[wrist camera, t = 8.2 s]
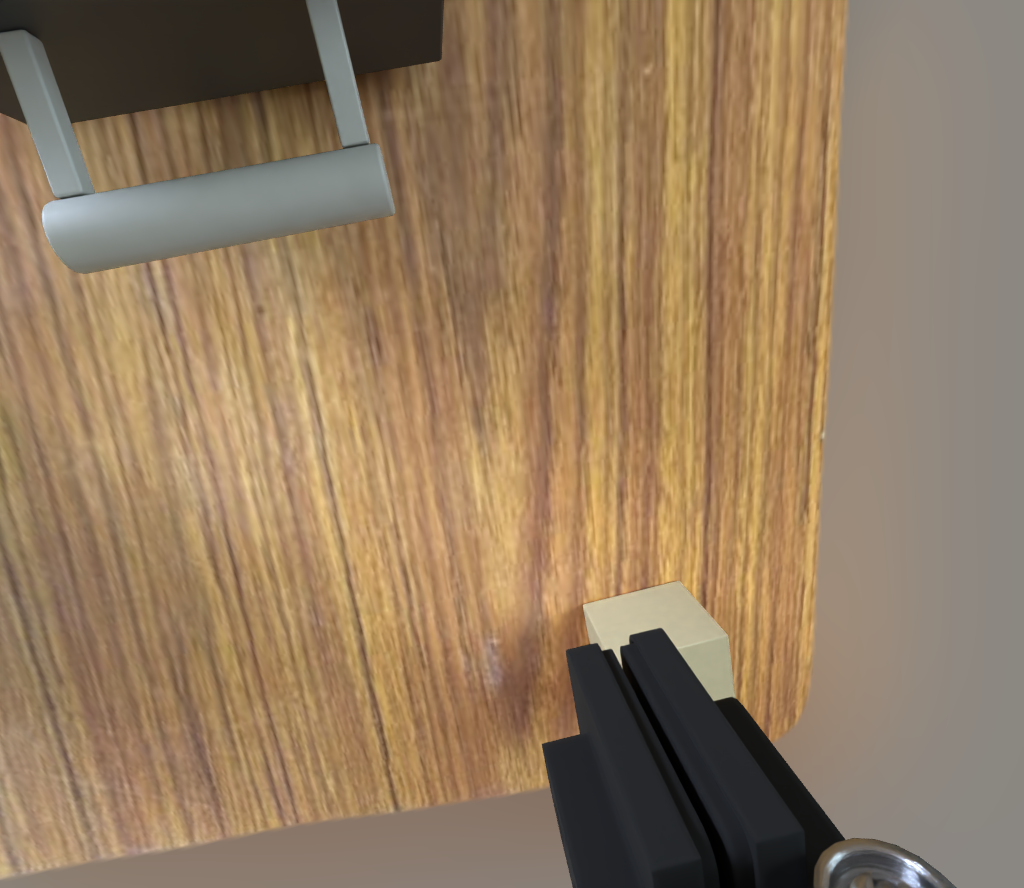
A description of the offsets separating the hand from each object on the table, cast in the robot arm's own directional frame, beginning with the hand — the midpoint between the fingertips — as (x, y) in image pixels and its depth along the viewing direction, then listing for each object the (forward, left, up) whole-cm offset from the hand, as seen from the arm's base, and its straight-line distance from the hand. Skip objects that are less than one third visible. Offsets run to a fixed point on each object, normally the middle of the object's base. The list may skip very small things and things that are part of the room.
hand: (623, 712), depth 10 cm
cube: (-3, +7, -12) cm, 14 cm away
